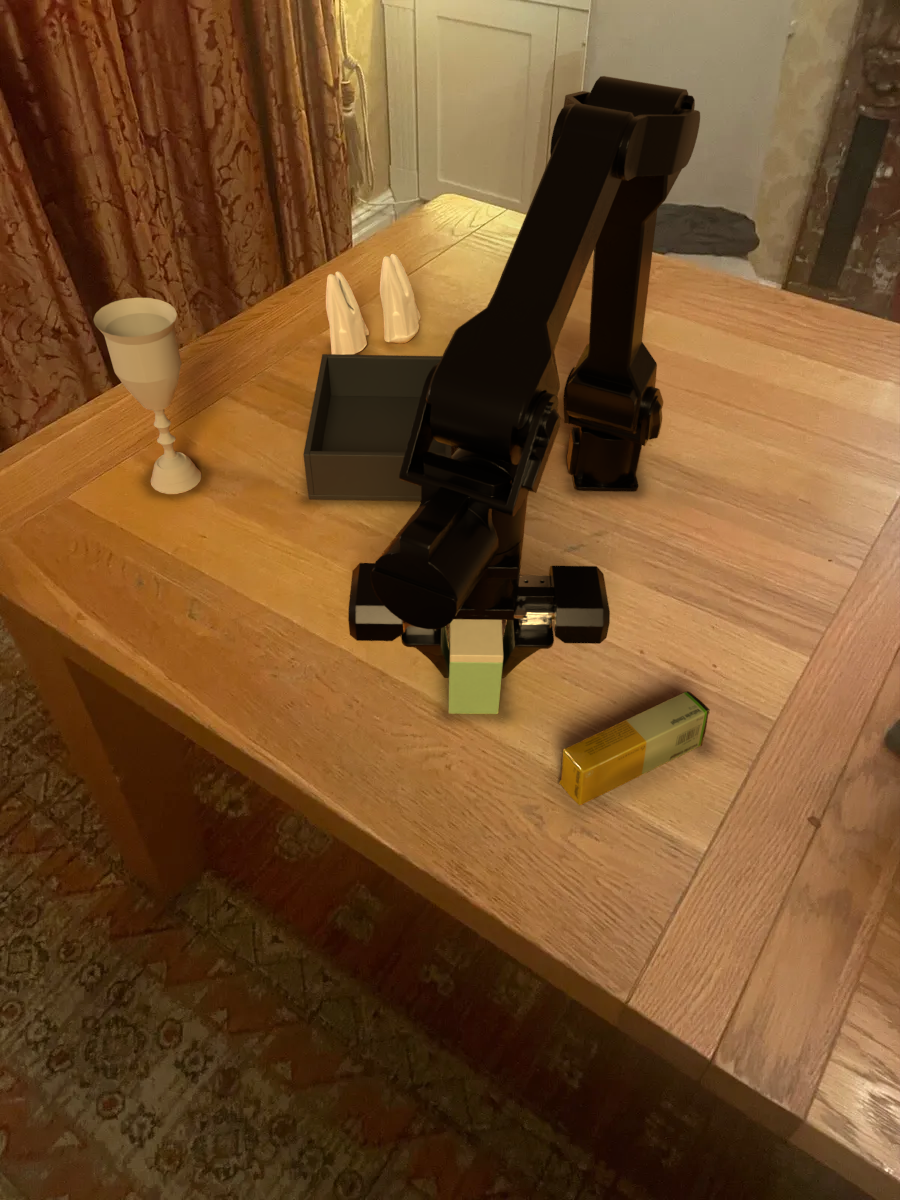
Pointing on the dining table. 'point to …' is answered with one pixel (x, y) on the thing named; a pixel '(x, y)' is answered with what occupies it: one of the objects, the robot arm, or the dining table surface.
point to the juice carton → (475, 666)
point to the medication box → (633, 747)
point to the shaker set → (396, 307)
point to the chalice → (150, 375)
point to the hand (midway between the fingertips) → (474, 673)
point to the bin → (365, 426)
